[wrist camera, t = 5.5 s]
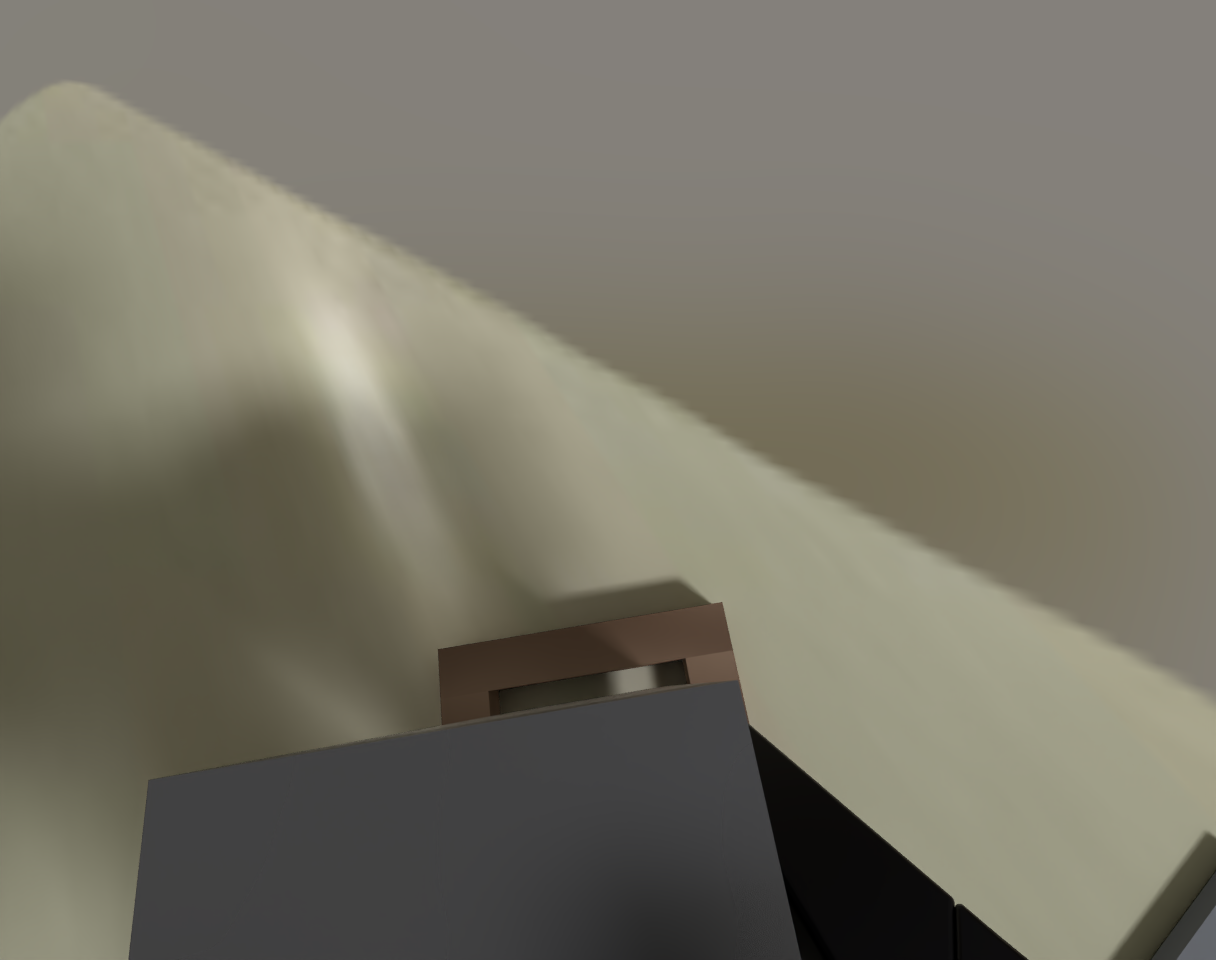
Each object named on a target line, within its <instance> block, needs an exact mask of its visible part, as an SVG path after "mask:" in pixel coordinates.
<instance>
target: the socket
mask: <svg viewBox="0 0 1216 960" xmlns="http://www.w3.org/2000/svg"><path fill="white" fill-rule="evenodd" d="M438 659H439V678H440V697H441V717H442V725H446V724H452V723H457V722H462V721H468V720H473V719H478V718H484V717H489V716H494V715H500V703H499V690H505V689H511V688H517V687H523V686H529V685H535V684H540V683H546V682H552V681H558V680H564V679H570V678H576V677H582V676H588V675H594V674H600V673H606V672H612V671H618V670H624V669H630V668H636V667H642V666H648V665H654V664H660V663H666V662H672V661H678V660H682V661H683V666H684V672H685V677H686V682H687V684H697V683H709V682H721V681H733V680H738V682H739V686H740V690H741V695H742V699H743V704H744V708H745V713H746V717H747V721H748V724H749V720H748V716H747V711H746V707H745V702H744V698H743V693H742V689H741V684H740V680H739V675H738V671H737V667H736V662H735V658H734V653H733V649H732V644H731V640H730V635H729V631H728V626H727V622H726V617H725V613H724V608H723V604H722V602H720V603H714V604H708V605H702V606H696V607H690V608H684V609H678V610H672V611H666V612H660V613H654V614H648V615H642V616H636V617H630V618H624V619H618V620H612V621H606V622H600V623H594V624H588V625H582V626H576V627H570V628H564V629H558V630H552V631H546V632H540V633H534V634H528V635H522V636H516V637H510V638H504V639H498V640H492V641H486V642H480V643H474V644H467V645H461V646H455V647H449V648H443V649H438Z"/></svg>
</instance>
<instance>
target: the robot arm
mask: <svg viewBox="0 0 1216 960" xmlns="http://www.w3.org/2000/svg"><path fill="white" fill-rule="evenodd" d="M748 726H749V730H750V735H751V739H752V744H753V748H754V752H755V757H756V761H757V766H758V770H759V774H760V779H761V783H762V788H763V792H764V797H765V801H766V805H767V810H768V814H769V819H770V823H771V828H772V832H773V836H774V841H775V845H776V850H777V854H778V859H779V863H780V867H781V872H782V876H783V881H784V885H785V889H786V894H787V898H788V903H789V907H790V912H791V916H792V920H793V925H794V929H795V934H796V938H797V943H798V947H799V951H800V956H801V960H1028V959H1027V958H1026V957H1024V956H1023V955H1022V954H1021V953H1020V952H1018V951H1017V950H1016V949H1015V948H1013V947H1012V946H1011V945H1010V944H1009V943H1007V942H1006V941H1005V940H1004V939H1002V938H1001V937H1000V936H999V935H998V934H996V933H995V932H994V931H993V930H992V929H991V928H989V927H988V926H987V925H986V924H985V923H983V922H982V921H981V920H980V919H979V918H978V917H976V916H975V915H974V914H973V913H972V912H971V911H969V910H968V909H967V908H966V907H965V906H964V905H962V904H957V905H956V906H955V903H954V899H953V898H952V897H951V896H950V895H949V894H948V893H947V892H945V891H944V890H943V889H942V888H941V887H940V886H938V885H937V884H936V883H935V882H934V881H932V880H931V879H930V878H929V877H928V876H927V875H925V874H924V873H923V872H922V871H921V870H920V869H918V868H917V867H916V866H915V865H914V864H913V863H911V862H910V861H909V860H908V859H907V858H905V857H904V856H903V855H902V854H901V853H900V852H898V851H897V850H896V849H895V848H894V847H893V846H891V845H890V844H889V843H888V842H887V841H886V840H884V839H883V838H882V837H881V836H880V835H878V834H877V833H876V832H875V831H874V830H873V829H871V828H870V827H869V826H868V825H867V824H866V823H864V822H863V821H862V820H861V819H860V818H859V817H857V816H856V815H855V814H854V813H853V812H851V811H850V810H849V809H848V808H847V807H846V806H844V805H843V804H842V803H841V802H840V801H839V800H837V799H836V798H835V797H834V796H833V795H832V794H830V793H829V792H828V791H827V790H826V789H824V788H823V787H822V786H821V785H820V784H819V783H817V782H816V781H815V780H814V779H813V778H812V777H810V776H809V775H808V774H807V773H806V772H805V771H803V770H802V769H801V768H800V767H799V766H797V765H796V764H795V763H794V762H793V761H792V760H790V759H789V758H788V757H787V756H786V755H785V754H783V753H782V752H781V751H780V750H779V749H778V748H776V747H775V746H774V745H773V744H772V743H771V742H769V741H768V740H767V739H766V738H765V737H763V736H762V735H761V734H760V733H759V732H758V731H756V730H755V729H754V728H753V727H752V726H751V725H749V724H748Z"/></svg>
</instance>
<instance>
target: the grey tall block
mask: <svg viewBox="0 0 1216 960" xmlns="http://www.w3.org/2000/svg"><path fill="white" fill-rule="evenodd" d="M129 960H801V956H800V951H799V947H798V943H797V938H796V934H795V929H794V925H793V920H792V916H791V912H790V907H789V903H788V898H787V894H786V889H785V885H784V881H783V876H782V872H781V867H780V863H779V859H778V854H777V850H776V845H775V841H774V836H773V832H772V828H771V823H770V819H769V814H768V810H767V805H766V801H765V797H764V792H763V788H762V783H761V779H760V774H759V770H758V766H757V761H756V757H755V752H754V748H753V744H752V739H751V735H750V730H749V726H748V721H747V717H746V713H745V708H744V704H743V699H742V695H741V690H740V686H739V682H738V680H733V681H721V682H709V683H697V684H685V685H673V686H663V687H658V688H652V689H646V690H640V691H634V692H628V693H622V694H616V695H610V696H605V697H599V698H593V699H587V700H581V701H575V702H569V703H563V704H557V705H551V706H546V707H540V708H534V709H528V710H522V711H516V712H510V713H505V714H500V715H494V716H489V717H484V718H478V719H473V720H468V721H462V722H457V723H452V724H446V725H441V726H436V727H430V728H425V729H420V730H414V731H409V732H404V733H398V734H393V735H387V736H382V737H377V738H371V739H366V740H361V741H355V742H350V743H345V744H339V745H334V746H329V747H323V748H318V749H313V750H307V751H302V752H297V753H291V754H286V755H281V756H275V757H270V758H264V759H259V760H254V761H248V762H243V763H238V764H232V765H227V766H222V767H216V768H211V769H206V770H200V771H195V772H190V773H184V774H179V775H174V776H168V777H163V778H157V779H152V780H149V782H148V791H147V800H146V809H145V818H144V827H143V835H142V844H141V853H140V862H139V871H138V880H137V889H136V898H135V907H134V915H133V924H132V933H131V942H130V951H129Z"/></svg>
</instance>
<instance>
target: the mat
mask: <svg viewBox="0 0 1216 960" xmlns="http://www.w3.org/2000/svg"><path fill="white" fill-rule="evenodd" d="M1151 960H1216V872H1215V873H1214V875H1213V876H1212V877H1211V879H1210V880H1209V881H1208V883H1207V884H1206V885H1205V887H1204V888H1203V890H1202V891H1201V892H1200V894H1199V895H1198V896H1197V898H1196V899H1195V900H1194V902H1193V903H1192V904H1191V906H1190V907H1189V909H1188V910H1187V911H1186V913H1185V914H1184V915H1183V917H1182V918H1181V919H1180V921H1179V922H1178V924H1177V925H1176V926H1175V928H1174V929H1173V930H1172V932H1171V933H1170V934H1169V936H1168V937H1167V939H1166V940H1165V941H1164V943H1163V944H1162V945H1161V947H1160V948H1159V949H1158V951H1157V952H1156V954H1155V955H1154V956H1153V958H1152V959H1151Z"/></svg>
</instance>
